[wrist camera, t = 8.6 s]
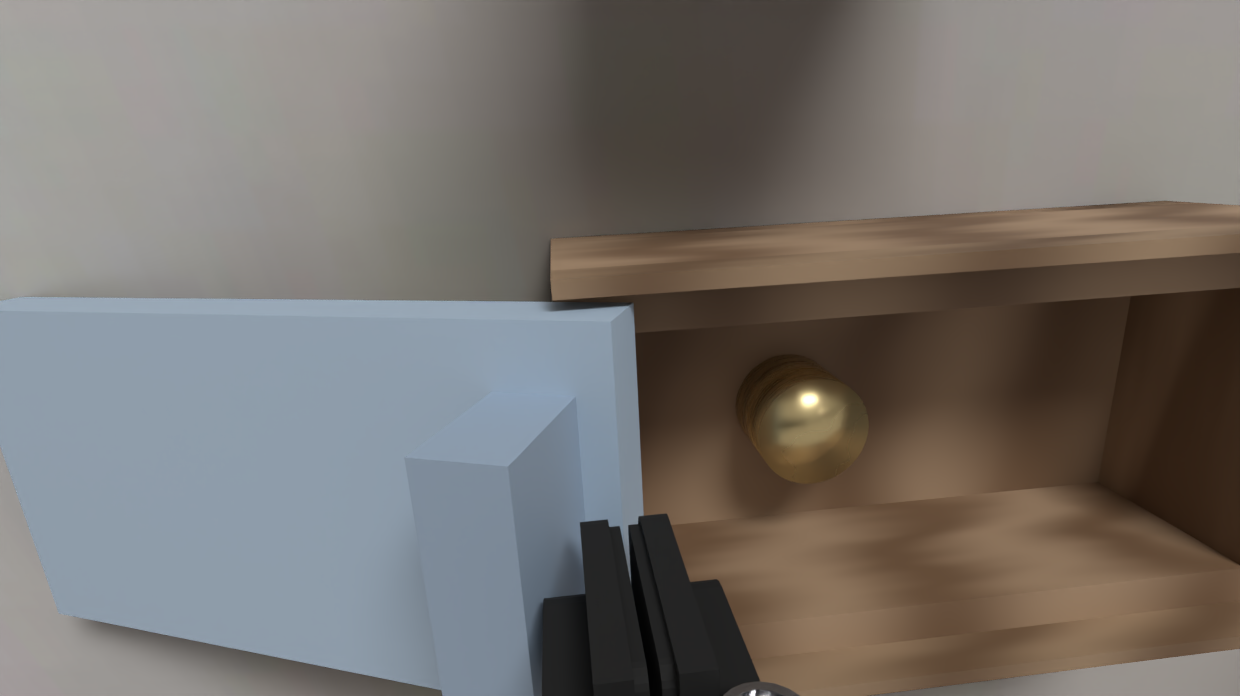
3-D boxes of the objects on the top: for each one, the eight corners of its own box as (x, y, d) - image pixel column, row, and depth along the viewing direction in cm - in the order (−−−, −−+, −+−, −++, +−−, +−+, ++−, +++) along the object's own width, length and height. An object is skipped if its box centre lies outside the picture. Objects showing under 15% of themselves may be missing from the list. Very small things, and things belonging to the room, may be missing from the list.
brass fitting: (835, 350, 20) (871, 374, 18) (831, 443, 21) (865, 477, 19) (735, 358, 20) (759, 383, 18) (735, 453, 21) (758, 488, 19)
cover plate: (633, 302, 13) (549, 373, 9) (651, 675, 16) (592, 866, 12) (21, 296, 18) (-217, 341, 14) (111, 580, 21) (-66, 689, 17)
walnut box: (1164, 201, 21) (1464, 219, 14) (1109, 501, 24) (1333, 636, 17) (550, 238, 19) (550, 280, 12) (576, 556, 22) (587, 731, 16)
